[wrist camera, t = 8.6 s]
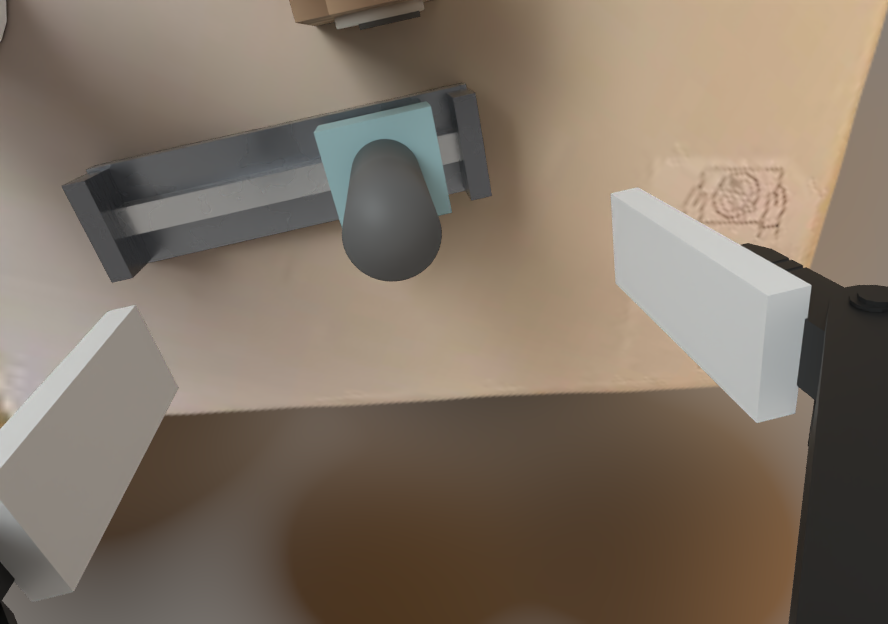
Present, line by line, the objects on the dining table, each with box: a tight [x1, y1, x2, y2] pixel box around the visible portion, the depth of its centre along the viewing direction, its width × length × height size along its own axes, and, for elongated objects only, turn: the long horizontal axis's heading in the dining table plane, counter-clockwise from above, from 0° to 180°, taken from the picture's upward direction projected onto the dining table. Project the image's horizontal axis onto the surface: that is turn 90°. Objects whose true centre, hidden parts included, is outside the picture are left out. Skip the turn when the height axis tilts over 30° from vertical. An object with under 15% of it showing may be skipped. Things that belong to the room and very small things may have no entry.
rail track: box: [62, 83, 492, 283], centre depth 32 cm, size 22×6×4 cm, turn 101°
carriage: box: [314, 101, 452, 281], centre depth 26 cm, size 6×6×13 cm
